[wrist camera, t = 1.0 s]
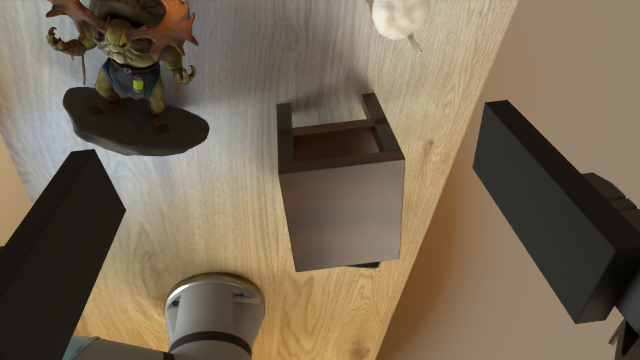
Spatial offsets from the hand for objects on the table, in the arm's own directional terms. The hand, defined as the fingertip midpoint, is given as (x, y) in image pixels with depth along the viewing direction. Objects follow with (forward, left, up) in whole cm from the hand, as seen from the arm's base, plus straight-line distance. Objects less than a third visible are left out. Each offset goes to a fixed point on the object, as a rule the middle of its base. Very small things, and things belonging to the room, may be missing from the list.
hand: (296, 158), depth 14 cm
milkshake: (-2, -9, -29) cm, 31 cm away
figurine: (-5, +14, -29) cm, 33 cm away
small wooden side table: (-19, -3, -29) cm, 35 cm away
